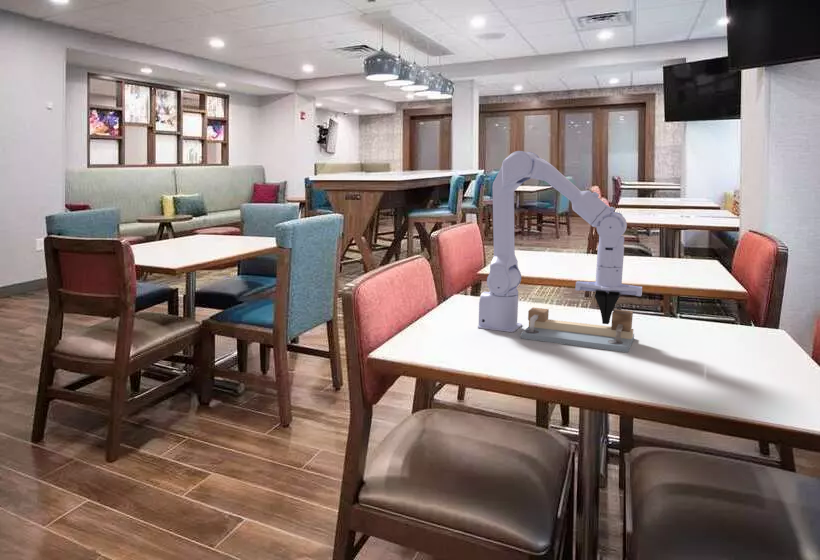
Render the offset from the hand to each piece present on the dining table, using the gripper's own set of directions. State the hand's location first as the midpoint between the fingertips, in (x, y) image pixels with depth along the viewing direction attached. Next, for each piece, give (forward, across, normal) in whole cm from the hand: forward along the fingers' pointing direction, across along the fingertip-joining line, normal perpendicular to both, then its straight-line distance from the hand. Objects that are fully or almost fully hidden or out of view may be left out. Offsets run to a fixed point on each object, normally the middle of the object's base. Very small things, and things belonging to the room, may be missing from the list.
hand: (605, 323), depth 134 cm
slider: (+3, +3, -2) cm, 5 cm away
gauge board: (+4, -6, -2) cm, 7 cm away
